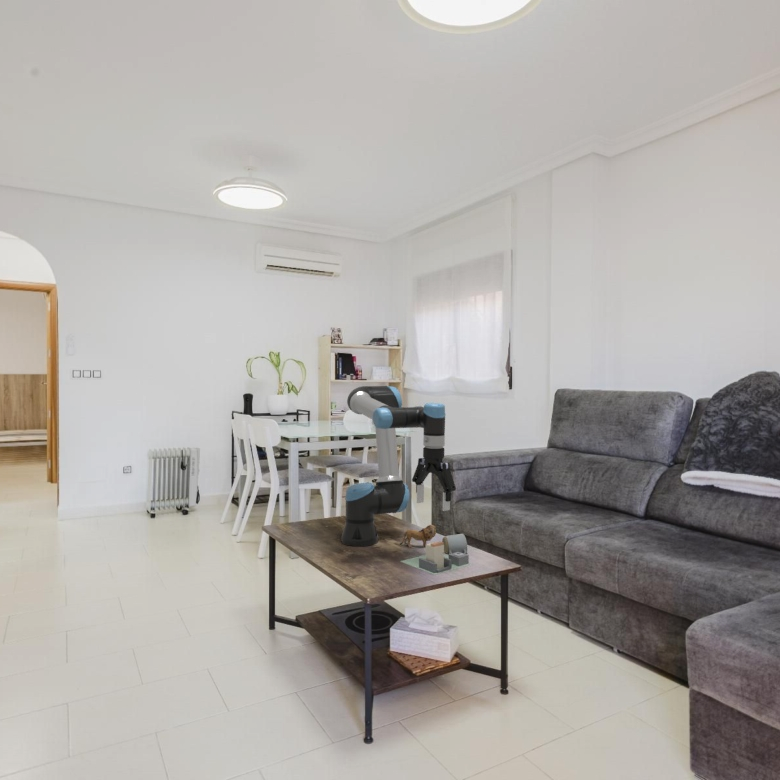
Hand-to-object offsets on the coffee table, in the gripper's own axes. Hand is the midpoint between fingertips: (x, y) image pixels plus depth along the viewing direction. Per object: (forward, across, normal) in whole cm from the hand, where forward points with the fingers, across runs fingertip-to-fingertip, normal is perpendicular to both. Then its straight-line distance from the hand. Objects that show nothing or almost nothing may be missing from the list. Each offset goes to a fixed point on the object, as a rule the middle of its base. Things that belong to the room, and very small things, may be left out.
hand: (432, 506), depth 199 cm
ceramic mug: (+22, -3, +15) cm, 27 cm away
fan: (+20, +6, +7) cm, 22 cm away
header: (+20, +5, -3) cm, 21 cm away
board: (+21, +1, +1) cm, 21 cm away
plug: (+20, +5, -3) cm, 21 cm away
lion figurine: (+22, -20, +12) cm, 32 cm away
